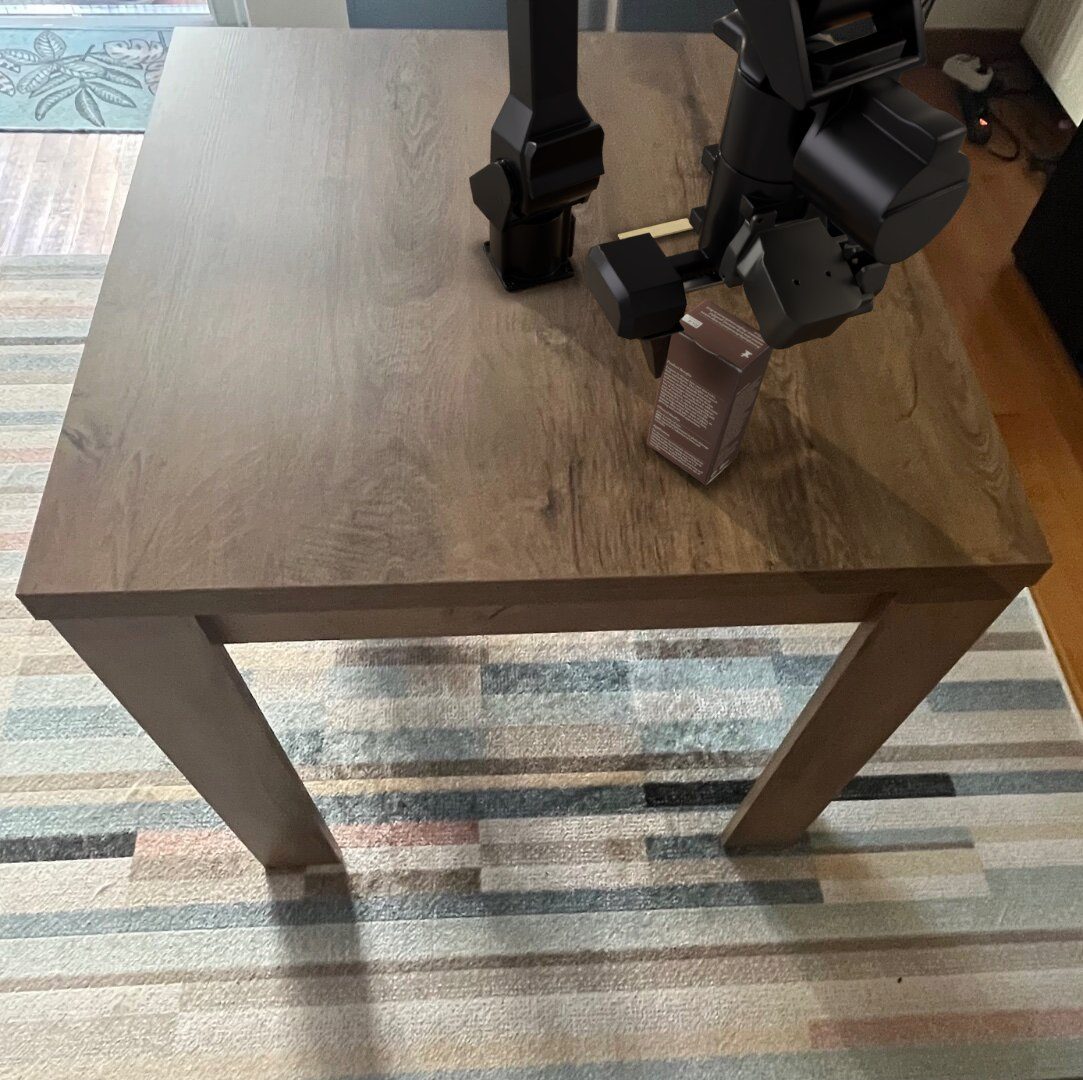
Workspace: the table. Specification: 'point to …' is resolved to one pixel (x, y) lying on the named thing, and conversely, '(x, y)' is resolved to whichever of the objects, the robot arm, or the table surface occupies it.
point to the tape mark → (661, 229)
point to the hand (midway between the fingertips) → (715, 357)
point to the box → (708, 391)
